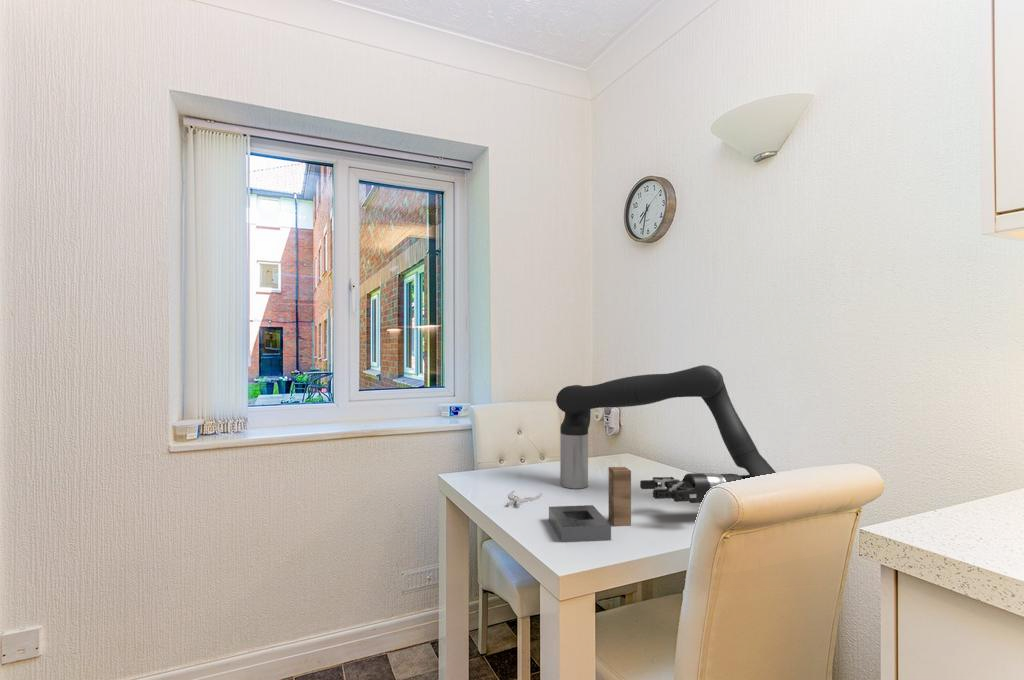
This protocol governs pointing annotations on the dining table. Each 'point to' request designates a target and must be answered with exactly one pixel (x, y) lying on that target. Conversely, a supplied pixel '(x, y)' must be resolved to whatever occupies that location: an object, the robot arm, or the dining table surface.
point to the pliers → (518, 500)
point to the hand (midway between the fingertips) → (646, 489)
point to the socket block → (579, 523)
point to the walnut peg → (620, 496)
